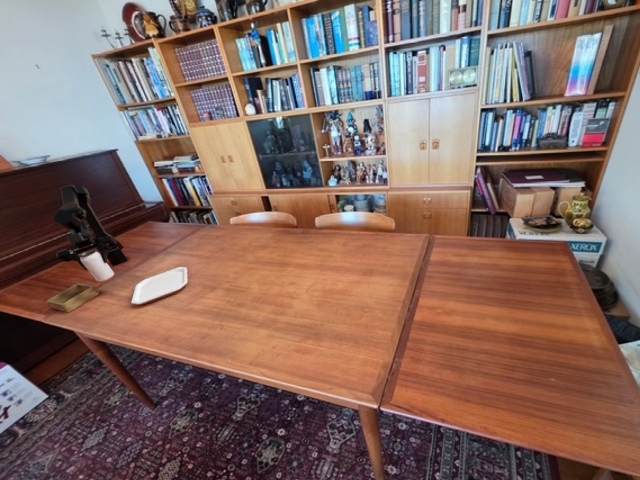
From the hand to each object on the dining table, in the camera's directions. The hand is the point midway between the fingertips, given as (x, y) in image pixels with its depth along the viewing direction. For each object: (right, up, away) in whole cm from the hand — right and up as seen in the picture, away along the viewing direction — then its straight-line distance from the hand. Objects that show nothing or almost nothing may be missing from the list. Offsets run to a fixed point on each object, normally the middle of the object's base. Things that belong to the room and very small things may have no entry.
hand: (95, 266), depth 121 cm
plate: (+26, -9, +3) cm, 28 cm away
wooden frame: (-13, -15, +6) cm, 21 cm away
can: (0, -5, +5) cm, 7 cm away
